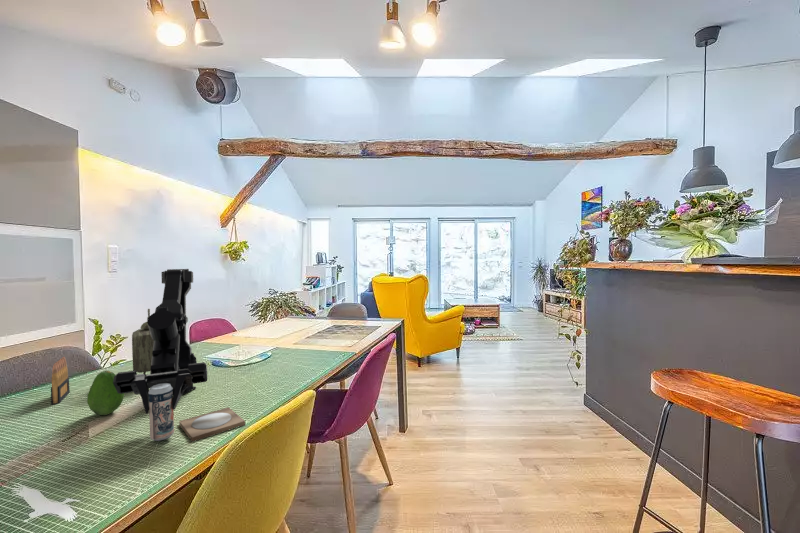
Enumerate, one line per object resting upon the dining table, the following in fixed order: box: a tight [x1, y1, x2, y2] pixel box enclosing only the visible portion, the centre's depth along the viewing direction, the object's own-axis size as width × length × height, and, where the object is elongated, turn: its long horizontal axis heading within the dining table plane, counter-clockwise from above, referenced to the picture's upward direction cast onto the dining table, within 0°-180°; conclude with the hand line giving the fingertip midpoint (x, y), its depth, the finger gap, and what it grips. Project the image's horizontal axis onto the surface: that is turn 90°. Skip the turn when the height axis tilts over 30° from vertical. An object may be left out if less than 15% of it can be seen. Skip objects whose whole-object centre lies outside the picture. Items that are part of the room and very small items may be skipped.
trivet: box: [178, 406, 246, 442], centre depth 93 cm, size 12×12×1 cm
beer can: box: [148, 383, 175, 442], centre depth 85 cm, size 5×5×12 cm
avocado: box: [86, 370, 125, 416], centre depth 101 cm, size 8×8×12 cm
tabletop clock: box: [131, 308, 154, 374], centre depth 130 cm, size 14×9×25 cm, turn 34°
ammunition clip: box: [50, 356, 71, 406], centre depth 113 cm, size 11×2×12 cm, turn 30°
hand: (160, 411), depth 84 cm, fingers closed on beer can, 5 cm apart
